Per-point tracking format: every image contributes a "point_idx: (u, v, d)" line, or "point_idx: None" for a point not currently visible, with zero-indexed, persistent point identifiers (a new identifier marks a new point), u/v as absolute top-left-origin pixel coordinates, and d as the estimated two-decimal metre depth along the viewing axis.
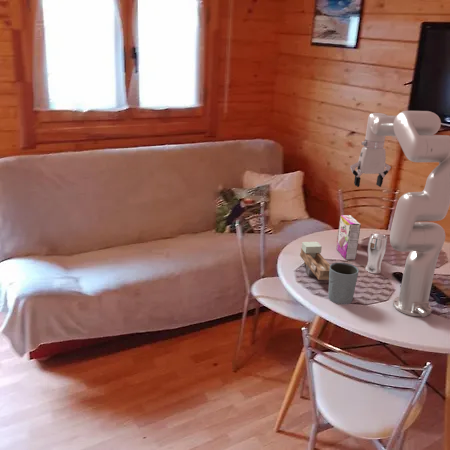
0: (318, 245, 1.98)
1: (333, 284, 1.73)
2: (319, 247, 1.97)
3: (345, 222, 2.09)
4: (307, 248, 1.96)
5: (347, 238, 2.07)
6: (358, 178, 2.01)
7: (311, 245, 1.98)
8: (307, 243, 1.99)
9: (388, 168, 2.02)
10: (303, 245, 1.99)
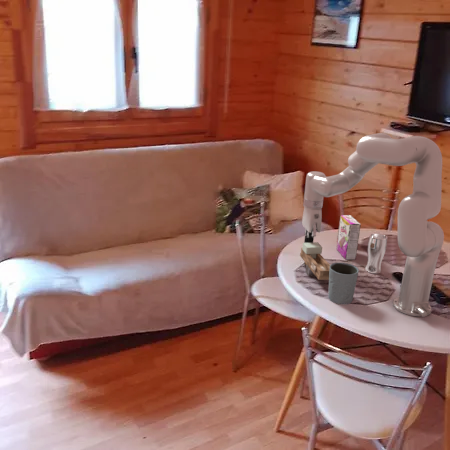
0: (319, 246, 1.97)
1: (333, 284, 1.73)
2: (320, 248, 1.96)
3: (345, 222, 2.09)
4: (308, 249, 1.96)
5: (347, 238, 2.07)
6: (312, 238, 2.01)
7: (312, 246, 1.97)
8: (308, 244, 1.98)
9: None
10: (304, 246, 1.99)
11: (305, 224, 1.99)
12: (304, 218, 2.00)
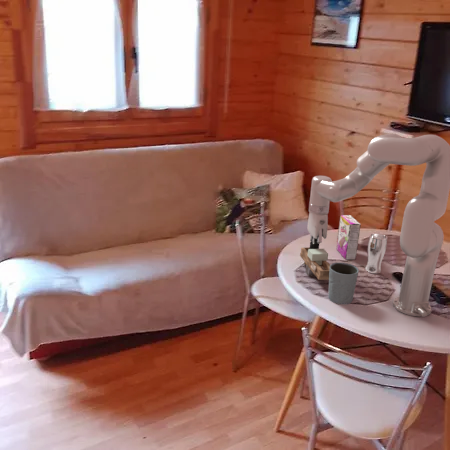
0: (324, 252, 1.91)
1: (333, 284, 1.73)
2: (326, 254, 1.90)
3: (345, 222, 2.09)
4: (313, 255, 1.90)
5: (347, 238, 2.07)
6: (318, 244, 1.95)
7: (317, 252, 1.91)
8: (314, 250, 1.92)
9: None
10: (309, 252, 1.93)
11: (310, 230, 1.93)
12: (309, 224, 1.94)
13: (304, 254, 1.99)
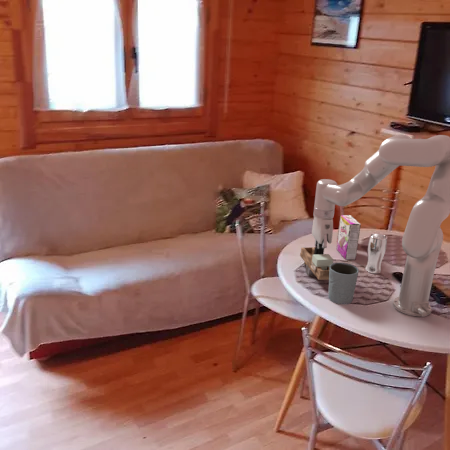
0: (330, 258, 1.86)
1: (333, 284, 1.73)
2: (331, 260, 1.86)
3: (345, 222, 2.09)
4: (318, 261, 1.85)
5: (347, 238, 2.07)
6: (322, 249, 1.90)
7: (322, 258, 1.86)
8: (318, 256, 1.88)
9: None
10: (314, 258, 1.88)
11: (315, 235, 1.88)
12: (314, 228, 1.89)
13: (304, 254, 1.99)
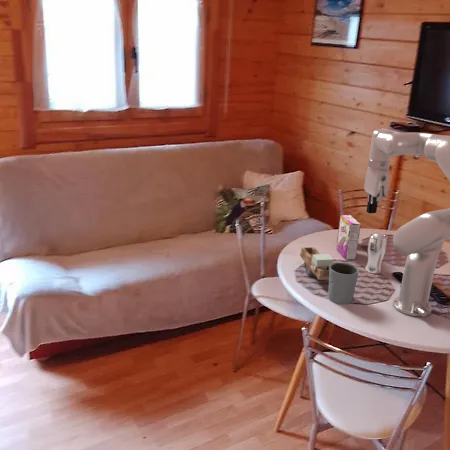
0: (330, 258, 1.86)
1: (333, 284, 1.73)
2: (331, 260, 1.86)
3: (345, 222, 2.09)
4: (318, 261, 1.85)
5: (347, 238, 2.07)
6: (376, 204, 1.83)
7: (322, 258, 1.86)
8: (318, 256, 1.88)
9: None
10: (314, 258, 1.88)
11: (369, 188, 1.81)
12: (367, 182, 1.82)
13: (304, 254, 1.99)
